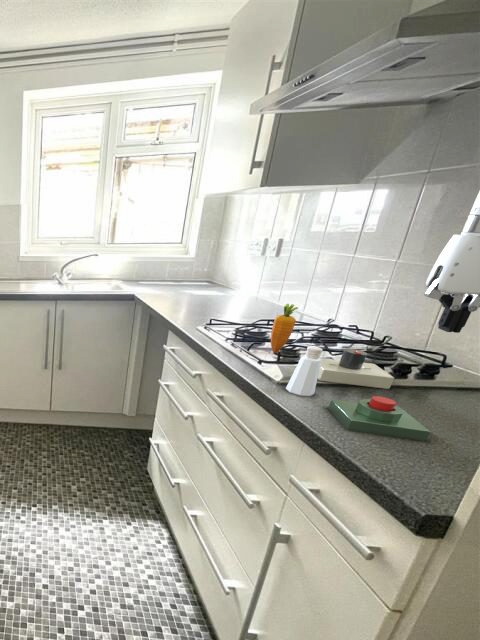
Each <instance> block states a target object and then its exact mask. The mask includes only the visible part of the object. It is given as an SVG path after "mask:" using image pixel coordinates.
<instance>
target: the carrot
mask: <svg viewBox="0 0 480 640" xmlns="http://www.w3.org/2000/svg"><path fill="white" fill-rule="evenodd" d="M298 309H299V307H298V306H295V304H293V303H292V304H290V303H286V304H285V305H284V306H283V314H280V315H277V316H275V318H274V321H273V324H272V328H271V332H270V333H271V334H270V348H271V351H272V353H273V354H277V353H279V352H280V351H281V350H282V349H283V347H284V346H285V345H286V344H287V342H288V341H289V339H290V337H291V335H292V333H293V330H294V327H295V325H296V321H297V320H296V318H295V317H294V316H292V314H293V313H294V311H295V310H298Z"/></svg>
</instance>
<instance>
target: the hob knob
mask: <svg viewBox="0 0 480 640" xmlns="http://www.w3.org/2000/svg"><path fill="white" fill-rule="evenodd" d="M367 355H368V353H367V352H366V351H363V350H360V349H355V348H344V349H343V352H342V354H341V357H340V359H339V360H340V362H339V365H340V366H342V367H344V368H348V369H355V370H359V369H361V368H362V365H363V363H365V360H366V359H367Z"/></svg>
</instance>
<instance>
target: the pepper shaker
mask: <svg viewBox="0 0 480 640" xmlns="http://www.w3.org/2000/svg"><path fill="white" fill-rule="evenodd" d="M322 353H323V348H322V347H319V346H316V345H315V346H314V345H311V346H310V345H309V346H307V347H306V351H305V355H303V356H301V357H300V359H299V360H298V363H297V364H296V366H295V368H294V371H293V373H292V375H291V377H290V379H289V380H288V383H287V385H286V387H285V390H286V391H288V392H289V393H291V394H294V395H297V396H301V397H311V396H313V395H315V391H316V386H317V383H318V380H319V379H318V374H319V370H320V366H321V361H322V360H321V359H319V358H321V355H322Z"/></svg>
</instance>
